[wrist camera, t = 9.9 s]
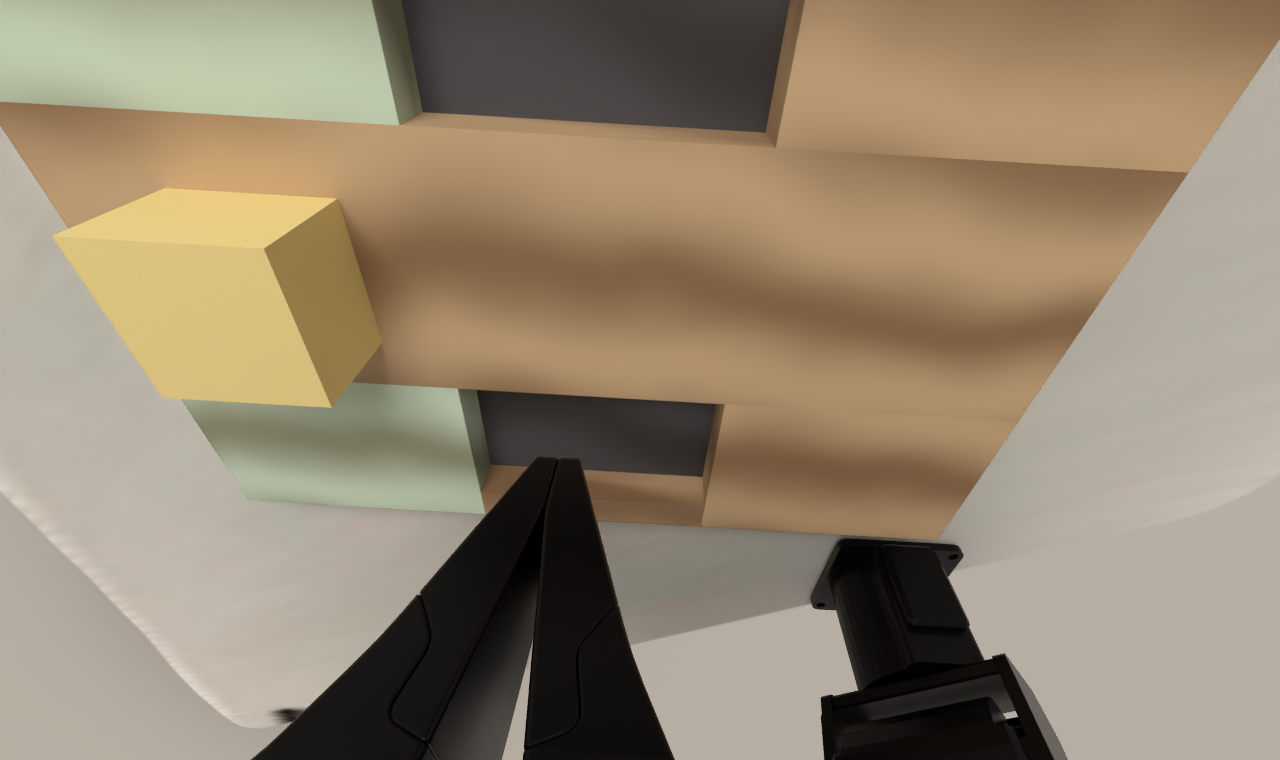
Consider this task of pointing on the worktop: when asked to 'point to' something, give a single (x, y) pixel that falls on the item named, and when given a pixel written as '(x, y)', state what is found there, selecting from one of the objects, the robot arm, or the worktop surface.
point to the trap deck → (657, 224)
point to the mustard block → (231, 294)
